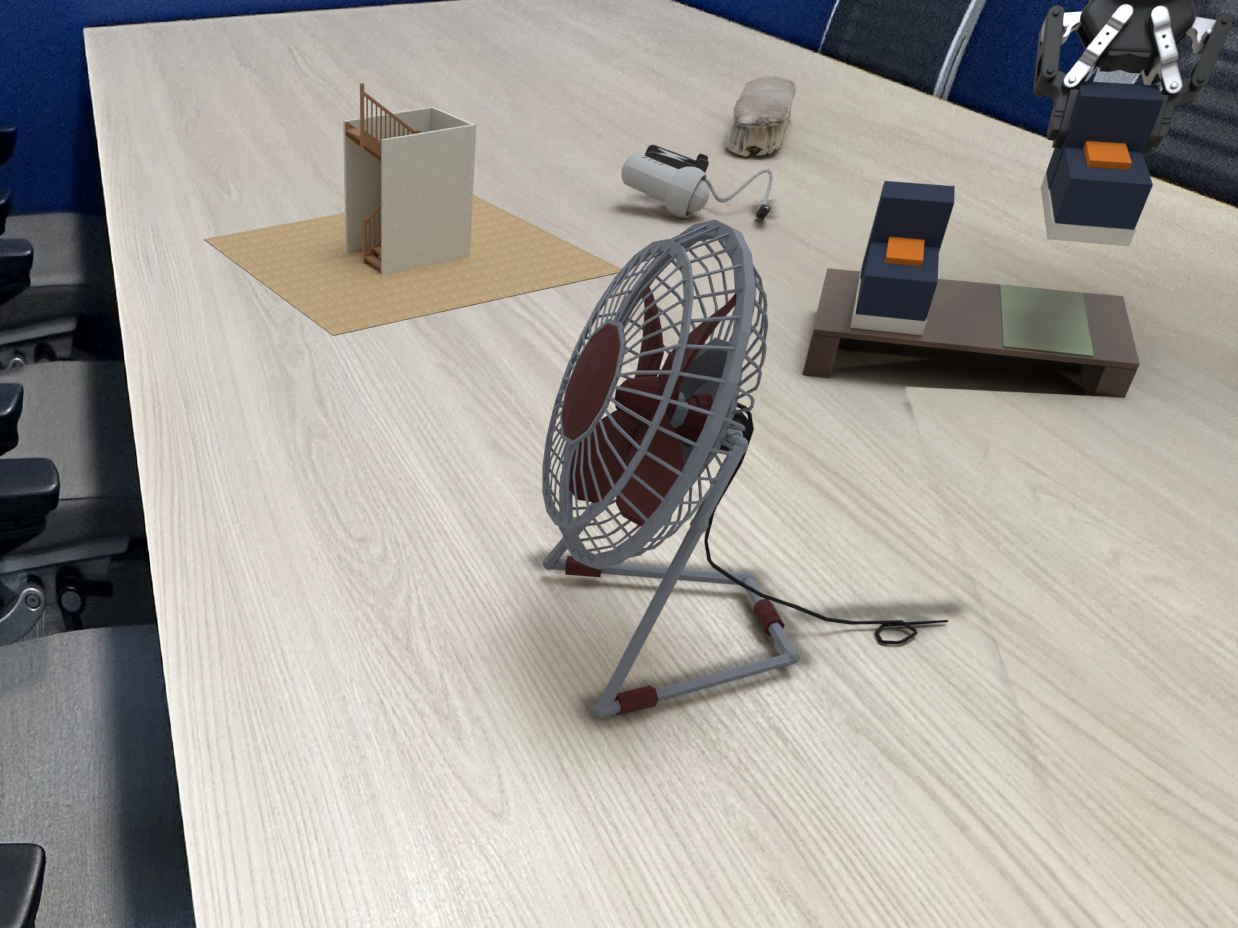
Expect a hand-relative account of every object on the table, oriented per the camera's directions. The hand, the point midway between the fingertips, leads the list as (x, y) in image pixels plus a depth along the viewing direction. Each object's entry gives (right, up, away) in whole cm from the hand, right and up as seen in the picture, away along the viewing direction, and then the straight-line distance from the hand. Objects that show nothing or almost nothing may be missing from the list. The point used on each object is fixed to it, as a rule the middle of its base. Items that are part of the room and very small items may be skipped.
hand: (1103, 145), depth 99 cm
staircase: (-56, +9, +34) cm, 66 cm away
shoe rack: (-6, -12, +12) cm, 18 cm away
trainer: (-1, -5, +1) cm, 5 cm away
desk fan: (-36, -45, -19) cm, 61 cm away
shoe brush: (-7, +41, +64) cm, 77 cm away
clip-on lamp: (-21, +19, +43) cm, 51 cm away
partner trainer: (-13, -8, +11) cm, 18 cm away
